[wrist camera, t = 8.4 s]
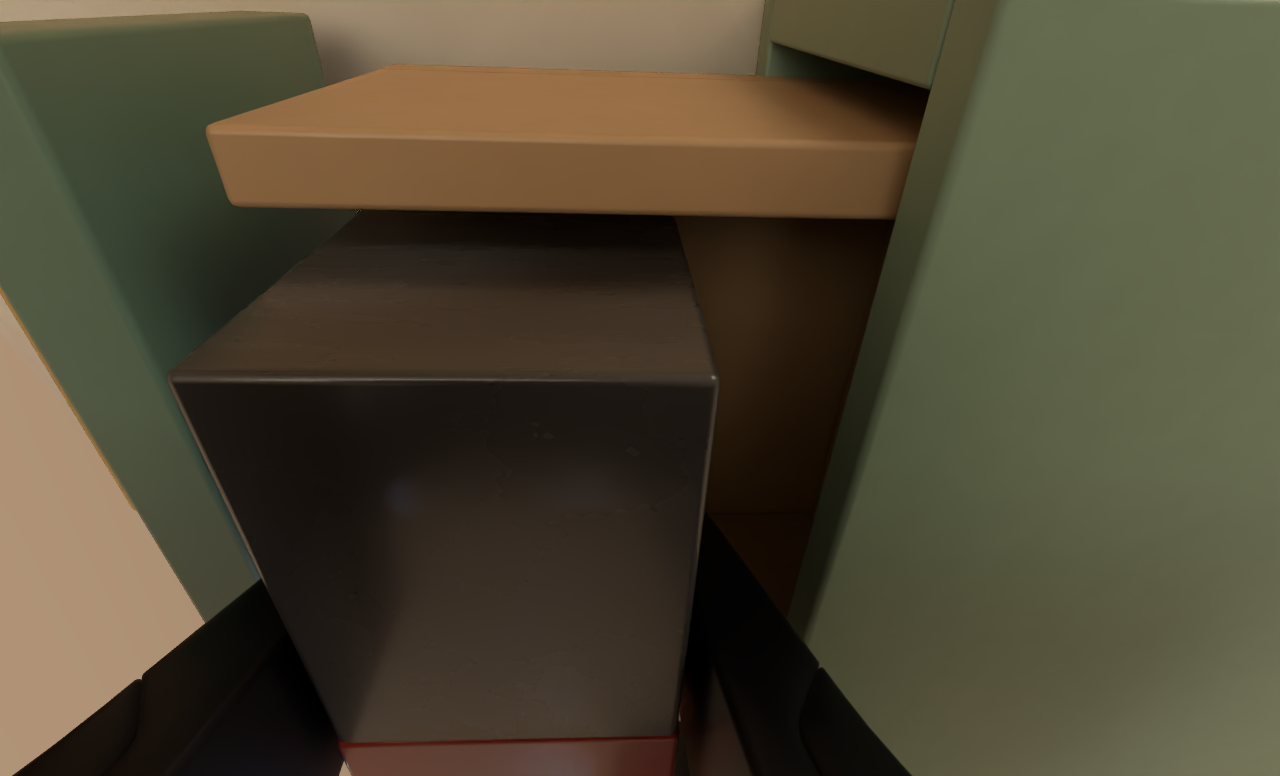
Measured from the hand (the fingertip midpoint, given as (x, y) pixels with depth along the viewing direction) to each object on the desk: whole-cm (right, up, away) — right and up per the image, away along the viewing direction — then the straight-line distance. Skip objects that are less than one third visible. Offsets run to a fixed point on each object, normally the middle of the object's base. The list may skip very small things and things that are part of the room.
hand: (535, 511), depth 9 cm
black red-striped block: (0, +1, +1) cm, 1 cm away
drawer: (-1, +3, +5) cm, 6 cm away
